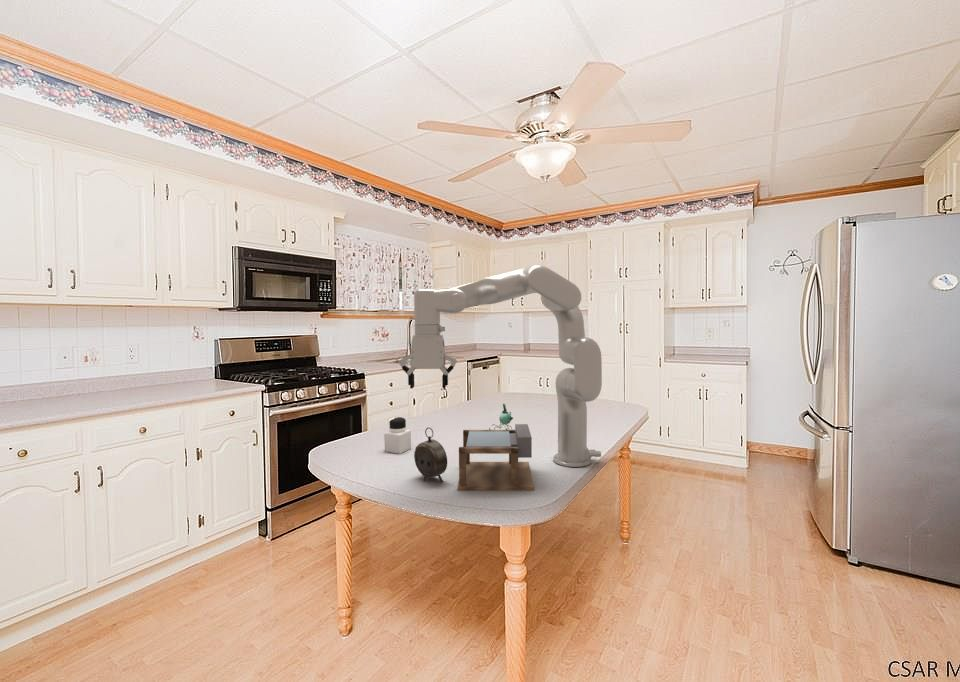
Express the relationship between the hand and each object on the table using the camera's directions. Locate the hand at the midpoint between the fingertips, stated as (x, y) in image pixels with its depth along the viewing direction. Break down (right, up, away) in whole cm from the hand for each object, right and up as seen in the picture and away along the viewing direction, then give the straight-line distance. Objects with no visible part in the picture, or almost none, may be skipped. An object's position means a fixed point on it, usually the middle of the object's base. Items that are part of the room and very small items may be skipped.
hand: (428, 387), depth 134 cm
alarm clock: (0, -29, +2) cm, 29 cm away
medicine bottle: (-15, -27, +31) cm, 44 cm away
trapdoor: (+21, -20, +4) cm, 29 cm away
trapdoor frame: (+20, -28, +4) cm, 35 cm away
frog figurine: (+25, -25, +47) cm, 59 cm away
